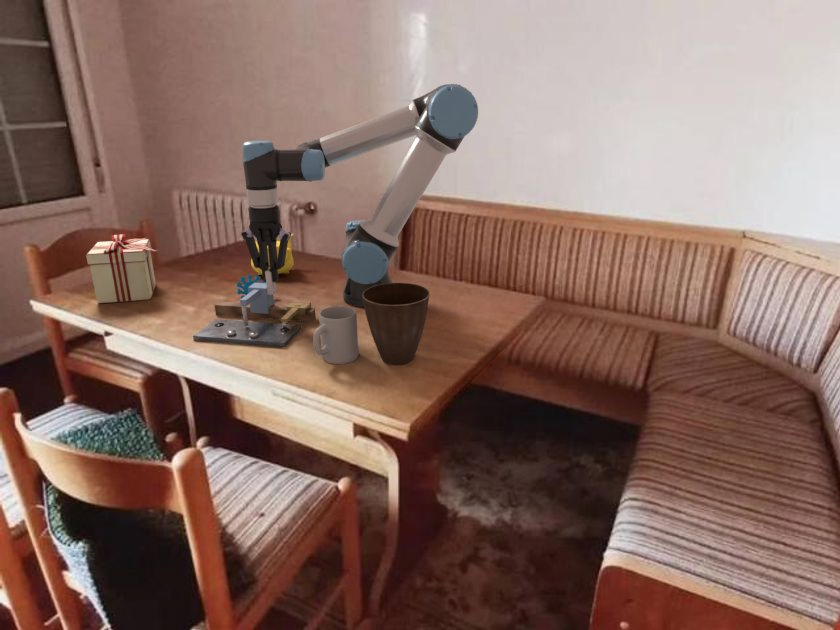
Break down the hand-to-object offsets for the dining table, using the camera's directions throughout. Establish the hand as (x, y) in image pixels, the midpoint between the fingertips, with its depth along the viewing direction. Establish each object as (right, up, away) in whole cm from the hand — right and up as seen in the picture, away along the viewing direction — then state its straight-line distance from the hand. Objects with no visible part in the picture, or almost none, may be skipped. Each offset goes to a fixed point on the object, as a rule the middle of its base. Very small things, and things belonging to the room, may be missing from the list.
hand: (272, 293), depth 155 cm
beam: (-3, -6, +3) cm, 8 cm away
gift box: (-48, +1, +22) cm, 53 cm away
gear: (-8, -2, +14) cm, 16 cm away
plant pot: (+34, -16, -20) cm, 43 cm away
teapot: (-8, +8, +40) cm, 42 cm away
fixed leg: (+6, -7, -3) cm, 10 cm away
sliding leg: (-4, -6, -1) cm, 7 cm away
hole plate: (-4, -11, -8) cm, 14 cm away
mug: (+20, -16, -21) cm, 33 cm away
